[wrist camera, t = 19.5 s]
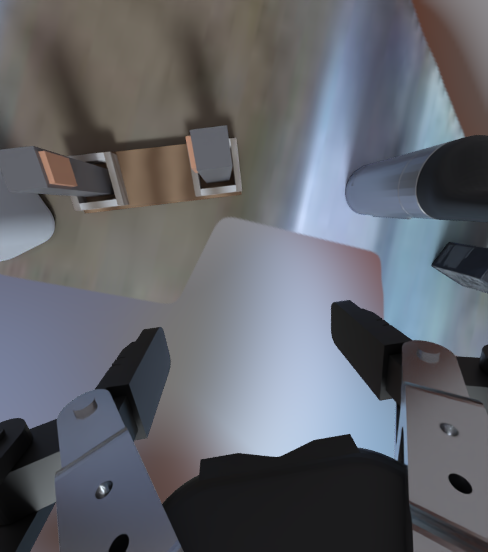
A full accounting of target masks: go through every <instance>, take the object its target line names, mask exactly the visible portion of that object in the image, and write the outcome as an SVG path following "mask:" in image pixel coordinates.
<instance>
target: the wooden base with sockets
mask: <svg viewBox="0 0 488 552" xmlns="http://www.w3.org/2000/svg"><path fill="white" fill-rule="evenodd" d="M229 144H230V151H231V159H232V171H231V175H230V180H229V181H224V182H216V183H209V184H207V183H206V182H205V180H204V179H203V178H202V177H201V175H200V174H199V173H195V172H194V171H193V170H192V168H191V163H190V158H189V153H188V147H187V143H186V144H181V145H172V146H163V147H154V148H145V149H136V150H127V151H118V152H102V153H93V154H84V155H75V156H67V157H70V158H73V159H76V160H80V161H83V162H86V163H89V164H93V165H96V166H99V167H102V168H106V169H108V171H109V175H110V179H111V182H112V186H113V190H114V193H115V194H113V195H105V196H96V197H83V196H70V197H71V200H72V203H73V206H74V209H75V211H78V210H84V212H85V213H93V212H101V211H110V210H118V209H126V208H135V207H143V206H151V205H159V204H168V203H176V202H184V201H192V200H201V199H209V198H217V197H225V196H234V195H241V191H242V184H241V175H240V166H239V158H238V149H237V140H236V138H230V139H229Z"/></svg>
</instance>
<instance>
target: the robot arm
mask: <svg viewBox="0 0 488 552" xmlns="http://www.w3.org/2000/svg"><path fill="white" fill-rule="evenodd" d="M346 200H347V203H348V205H349V207H350V208H351V209H352V210H353V211H354V212H356V213H358V214H363V215H372V216H374V217H385V218H398V219H411V218H423V219H439V220H458V221H477V222H488V136H485V135H474V136H469V137H465V138H461V139H458V140H454V141H450V142H447V143H443V144H440V145H436V146H433V147H429V148H426V149H422V150H419V151H415V152H412V153H408V154H404V155H401V156H397V157H394V158H390V159H387V160H383V161H379V162H376V163H373V164H369V165H366V166H363V167H361V168H359V169H358V170H357V171H355V172H354V174H353V175H352V176H351V178H350V179H349V181H348V184H347V187H346ZM331 334H332V338H333V341H334V343H335V345H336V346H337V347H338V349H339V350H340V351H341V353H342V354H343V355H344V356H345V358H346V359H347V360H348V361H349V363H350V364H351V365H352V366H353V368H354V369H355V370H356V371H357V373H358V374H359V375H360V376H361V377H362V379H363V380H364V381H365V383H366V384H367V385H368V386H369V388H370V389H371V390H372V391H373V393H374V394H375V395H376V396H377V398H378V399H379V400H386V399H392V398H393V399H394V400H395V401H396V407H395V453H394V454H395V455H394V459H393V458H391V457H388V456H386V455H384V454H381V453H378V452H375V451H372V450H368V449H363V448H357V446H356V444H355V442H354V441H353V439H352V437H351V435H350V434H347V435H342V436H335V437H329V438H324V439H318V440H313V441H311V442H309V443H307V444H305V445H303V446H301V447H299V448H297V449H295V450H293V451H291V452H289V453H287V454H285V455H283V456H280V457H269V456H260V455H251V454H241V453H237V454H231V455H225V456H219V457H213V458H207V459H202V460H201V462H200V473H199V475H198V476H196V477H194V478H192V479H191V480H189V481H187V482H186V483H184V485H182V486H181V487H179V488H178V489H177V490H175V491H174V492H173V493H172V494H171V495H170V496H169V497H168V498H167V499H166V500H165V501H164V503H163V504H162V503H161V501H160V499H159V497H158V495H157V493H156V490H155V488H154V486H153V484H152V481H151V479H150V477H149V475H148V473H147V470H146V468H145V466H144V464H143V462H142V460H141V457H140V455H139V453H138V451H137V449H136V446H135V445H134V440H139V439H145V438H147V437H148V434H149V431H150V428H151V425H152V422H153V419H154V416H155V413H156V410H157V407H158V404H159V401H160V398H161V395H162V391H163V389H164V386H165V383H166V380H167V376H168V373H169V370H170V355H169V350H168V346H167V342H166V338H165V335H164V331H163V329H162V328H161V327H157V328H150V329H144V330H143V331H142V332H141V334H140V336H139V337H138V339H137V340H136V341H135V342H132V343H130V344H129V345H128V346H127V347H125V348H124V349H123V350H122V351H121V353H120V354H119V356H118V357H117V360H115V361H114V363H113V364H112V367H110V368H109V370H108V371H107V373H106V374H105V376H104V377H103V378H102V380H101V381H100V383H99V384H98V386H97V387H96V388H95V390H92V391H89V392H86V393H85V394H82V395H80V396H78V397H77V398H75V399H74V400H72V401H71V402H70V403H69V404H67V405H66V406H65V407H64V408H63V410H62V411H61V412H60V414H59V415H58V418H57V419H55V420H53V421H50V422H48V423H45V424H42V425H40V426H37V427H34V428H32V429H29V428H28V426H27V424H26V422H25V421H24V420H23V419H21V418H15V419H10V420H6V421H3V422H1V423H0V552H30V551H31V549H32V547H33V545H34V543H35V541H36V539H37V537H38V535H39V533H40V532H41V530H42V528H43V526H44V524H45V522H46V520H47V518H48V516H49V514H50V512H51V511H52V509H53V507H54V505H55V503H56V507H57V520H58V533H59V547H60V552H488V345H486V346H484V347H483V348H482V353H481V357H480V358H474V357H457V356H455V355H454V354H453V353H452V352H451V351H450V350H448V349H447V348H445V347H443V346H441V345H438V344H435V343H432V342H428V341H421V340H411V339H410V338H408V337H407V336H406V335H404V334H403V333H401V332H400V331H399V330H397V329H396V328H394V327H393V326H392V325H389V323H387V322H386V321H385V320H382V318H380V317H379V316H378V315H376V314H375V313H373V312H370V311H368V310H365V309H361V308H360V307H358V306H357V305H356V304H354V303H353V302H351V301H350V300H347V301H339V302H334V303H332V305H331Z"/></svg>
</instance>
